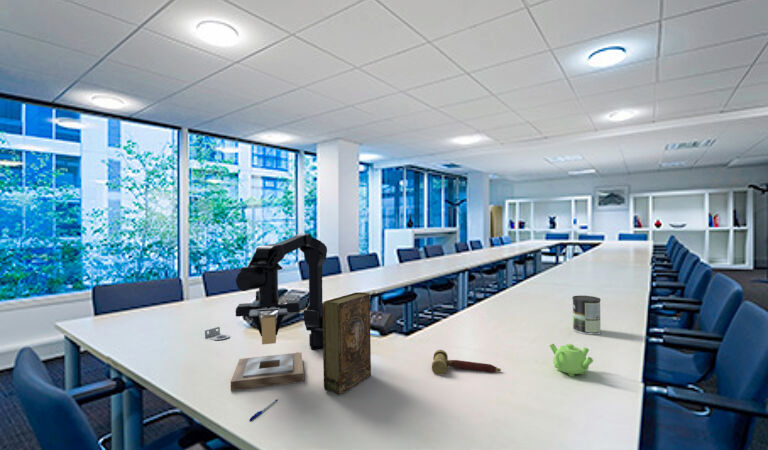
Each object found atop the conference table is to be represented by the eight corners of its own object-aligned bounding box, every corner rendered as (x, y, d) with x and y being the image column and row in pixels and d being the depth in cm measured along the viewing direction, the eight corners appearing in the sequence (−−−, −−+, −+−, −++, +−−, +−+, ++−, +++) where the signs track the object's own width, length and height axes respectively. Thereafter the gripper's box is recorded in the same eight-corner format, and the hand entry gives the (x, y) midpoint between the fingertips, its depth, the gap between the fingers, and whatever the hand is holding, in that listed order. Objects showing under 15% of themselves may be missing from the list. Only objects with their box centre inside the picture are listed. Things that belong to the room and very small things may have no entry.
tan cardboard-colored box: (276, 339, 113) (275, 314, 113) (275, 343, 109) (275, 317, 110) (263, 340, 112) (262, 315, 112) (262, 344, 108) (261, 318, 108)
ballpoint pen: (252, 422, 83) (251, 418, 83) (248, 422, 84) (248, 417, 84) (277, 401, 93) (277, 397, 93) (275, 401, 94) (274, 397, 94)
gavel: (499, 356, 114) (503, 369, 104) (498, 370, 114) (502, 384, 104) (434, 348, 118) (432, 359, 109) (433, 362, 118) (431, 374, 109)
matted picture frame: (301, 359, 122) (301, 351, 122) (303, 381, 105) (303, 371, 105) (239, 366, 117) (239, 357, 117) (230, 390, 100) (230, 379, 100)
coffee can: (571, 332, 148) (570, 298, 148) (574, 326, 156) (574, 294, 156) (600, 336, 142) (599, 301, 142) (602, 330, 150) (601, 296, 150)
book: (358, 371, 112) (357, 291, 112) (373, 374, 109) (372, 293, 109) (323, 392, 98) (322, 301, 98) (339, 397, 95) (337, 303, 95)
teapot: (550, 376, 106) (550, 348, 106) (549, 362, 116) (549, 336, 116) (594, 382, 101) (593, 352, 101) (588, 367, 112) (588, 340, 112)
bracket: (218, 342, 143) (218, 334, 143) (204, 338, 149) (204, 330, 149) (233, 338, 149) (233, 329, 149) (219, 334, 154) (219, 326, 154)
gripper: (298, 280, 121) (299, 326, 121) (240, 283, 116) (240, 330, 116) (299, 285, 110) (300, 335, 110) (235, 289, 106) (235, 341, 106)
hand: (269, 335), depth 111 cm, fingers closed on tan cardboard-colored box, 4 cm apart
